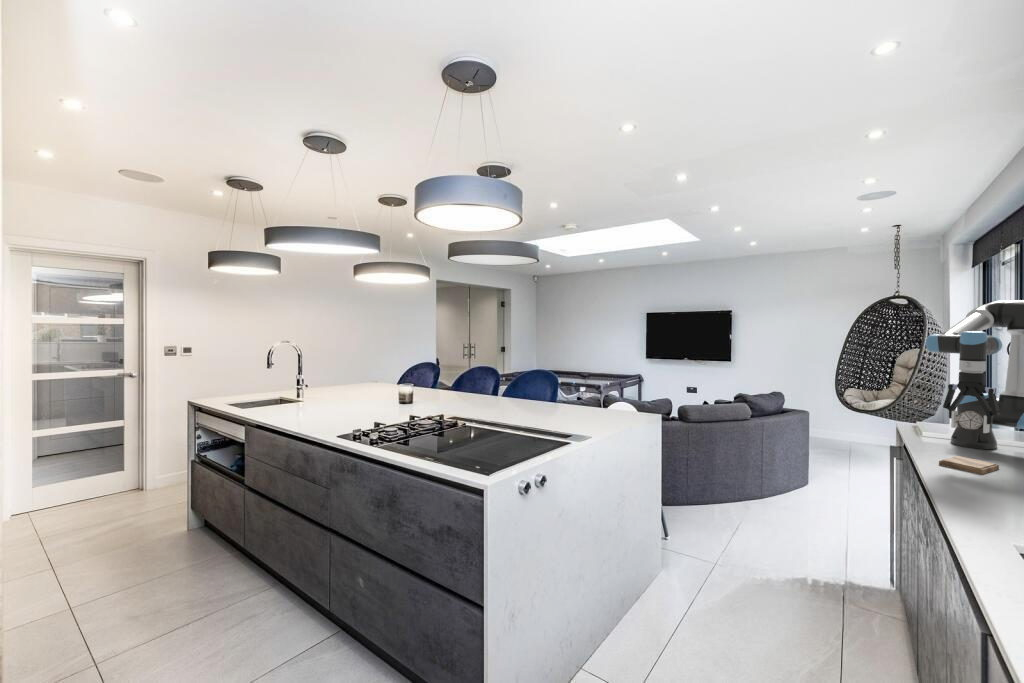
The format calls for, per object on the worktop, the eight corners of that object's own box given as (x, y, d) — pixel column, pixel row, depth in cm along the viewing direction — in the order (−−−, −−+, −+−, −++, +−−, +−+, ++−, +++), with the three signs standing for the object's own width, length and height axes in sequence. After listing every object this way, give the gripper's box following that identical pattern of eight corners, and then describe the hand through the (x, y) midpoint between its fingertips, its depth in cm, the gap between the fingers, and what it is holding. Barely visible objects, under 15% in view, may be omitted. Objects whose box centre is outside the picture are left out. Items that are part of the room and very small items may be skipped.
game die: (976, 440, 189) (997, 423, 183) (952, 432, 191) (972, 414, 185) (968, 425, 196) (987, 407, 190) (945, 417, 198) (963, 399, 192)
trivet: (956, 460, 200) (956, 455, 200) (998, 469, 188) (999, 464, 188) (939, 464, 195) (939, 459, 195) (981, 474, 183) (981, 469, 183)
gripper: (932, 369, 198) (930, 425, 199) (1004, 375, 178) (1002, 437, 179) (943, 368, 201) (941, 423, 202) (1015, 374, 181) (1012, 434, 182)
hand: (969, 429), depth 191 cm, fingers closed on game die, 9 cm apart
